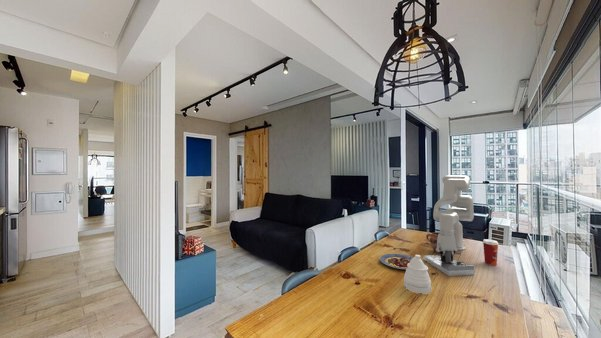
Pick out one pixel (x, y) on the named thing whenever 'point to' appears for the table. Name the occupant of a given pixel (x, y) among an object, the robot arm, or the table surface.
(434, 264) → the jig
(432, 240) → the decorative planter
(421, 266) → the honey pot
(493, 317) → the table surface
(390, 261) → the ceramic plate
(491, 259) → the coffee cup
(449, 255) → the gray cylinder
